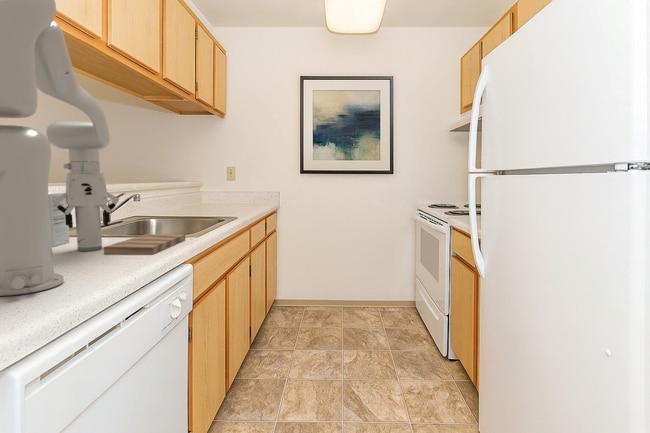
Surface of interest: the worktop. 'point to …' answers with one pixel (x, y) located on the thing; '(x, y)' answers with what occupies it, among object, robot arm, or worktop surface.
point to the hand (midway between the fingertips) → (88, 226)
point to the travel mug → (88, 224)
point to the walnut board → (145, 244)
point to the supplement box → (58, 221)
